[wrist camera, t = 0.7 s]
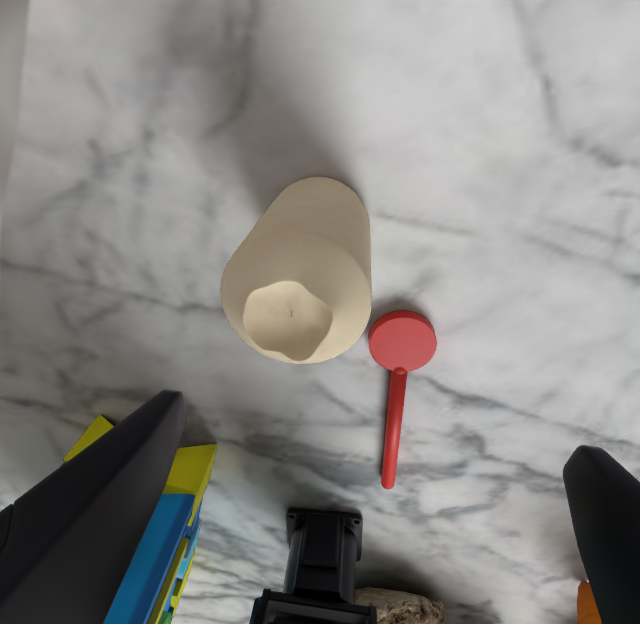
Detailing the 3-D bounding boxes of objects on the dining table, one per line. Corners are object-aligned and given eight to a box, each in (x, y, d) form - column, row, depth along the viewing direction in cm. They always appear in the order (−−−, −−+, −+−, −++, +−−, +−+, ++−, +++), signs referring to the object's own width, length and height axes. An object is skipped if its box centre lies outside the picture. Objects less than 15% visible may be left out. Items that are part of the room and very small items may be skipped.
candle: (359, 163, 20) (353, 229, 11) (378, 264, 23) (384, 379, 14) (256, 188, 21) (179, 264, 13) (285, 281, 24) (238, 396, 15)
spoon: (412, 482, 32) (414, 494, 31) (361, 478, 32) (361, 490, 31) (438, 311, 24) (441, 320, 23) (370, 309, 24) (370, 317, 23)
